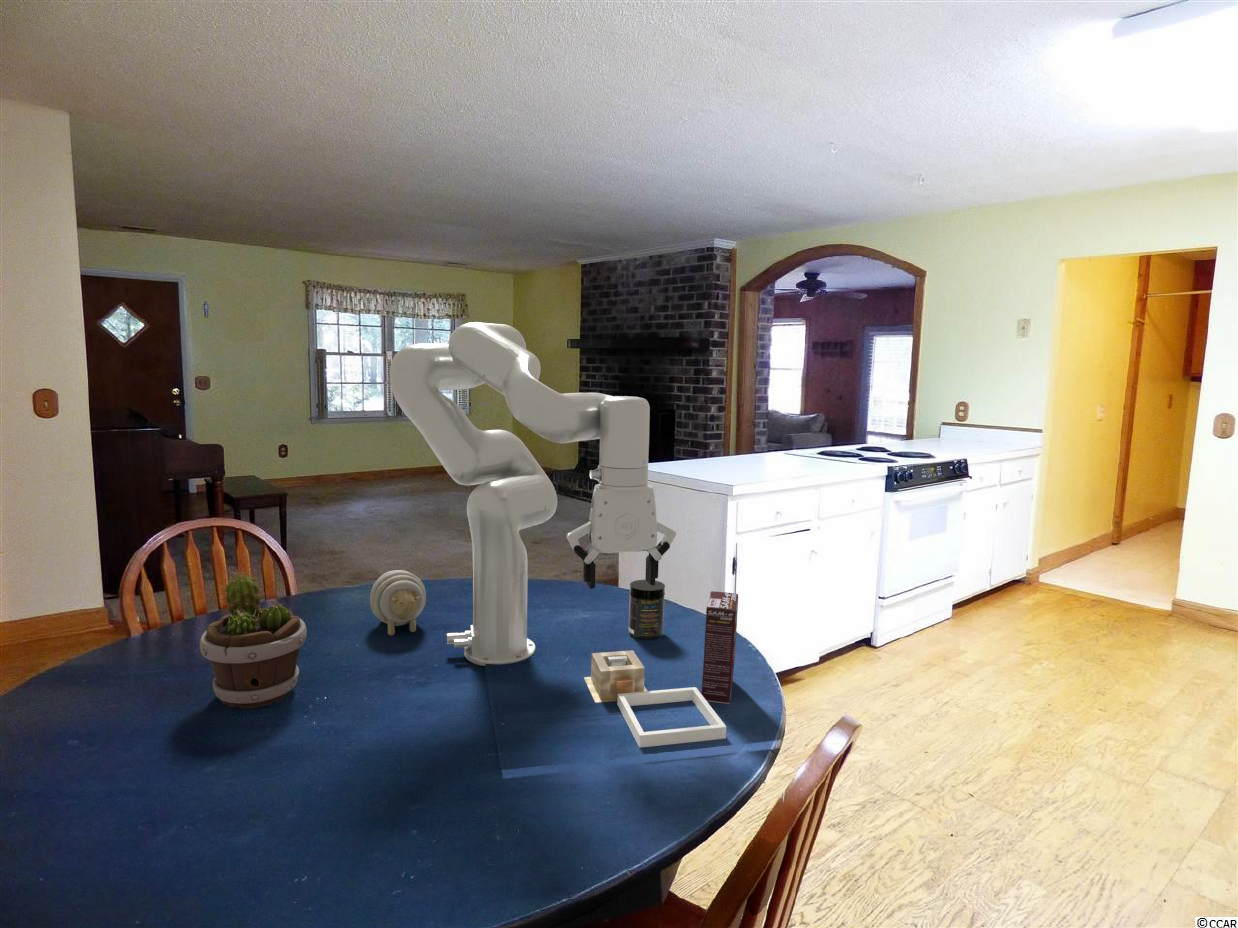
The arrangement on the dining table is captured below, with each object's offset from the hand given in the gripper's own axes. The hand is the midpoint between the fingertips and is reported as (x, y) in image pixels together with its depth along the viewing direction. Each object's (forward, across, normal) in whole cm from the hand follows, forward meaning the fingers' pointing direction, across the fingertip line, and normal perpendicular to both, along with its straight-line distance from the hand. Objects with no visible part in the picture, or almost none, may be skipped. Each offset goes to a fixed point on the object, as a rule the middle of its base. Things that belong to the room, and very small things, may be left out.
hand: (620, 584), depth 115 cm
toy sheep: (+18, -35, +36) cm, 53 cm away
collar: (+17, 0, 0) cm, 17 cm away
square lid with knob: (+18, 0, 0) cm, 18 cm away
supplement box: (+18, +16, -4) cm, 24 cm away
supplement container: (+18, +11, +22) cm, 30 cm away
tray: (+18, +5, -12) cm, 22 cm away
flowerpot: (+18, -55, +10) cm, 59 cm away
